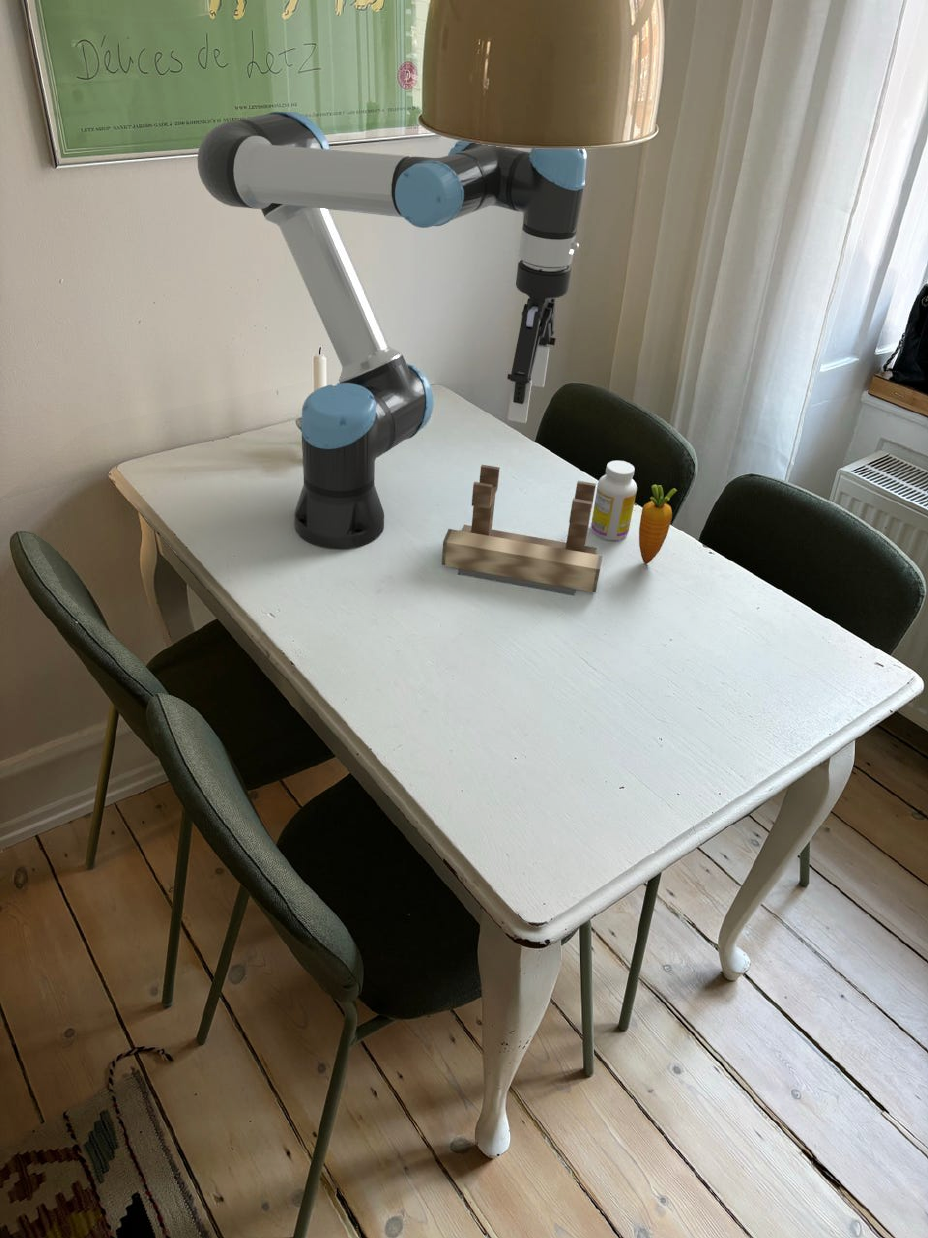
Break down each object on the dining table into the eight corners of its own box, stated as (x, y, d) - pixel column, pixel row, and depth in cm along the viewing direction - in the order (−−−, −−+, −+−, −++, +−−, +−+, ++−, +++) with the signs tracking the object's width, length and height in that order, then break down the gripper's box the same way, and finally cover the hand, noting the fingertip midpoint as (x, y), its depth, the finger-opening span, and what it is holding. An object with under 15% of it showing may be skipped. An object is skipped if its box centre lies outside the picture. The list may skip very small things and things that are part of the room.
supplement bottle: (627, 524, 173) (640, 459, 165) (628, 544, 168) (642, 478, 160) (589, 519, 173) (601, 455, 165) (589, 539, 168) (601, 474, 160)
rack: (456, 547, 163) (461, 481, 155) (464, 526, 168) (470, 462, 161) (592, 571, 160) (604, 506, 153) (596, 550, 165) (608, 485, 158)
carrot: (664, 560, 164) (682, 482, 155) (655, 575, 161) (674, 496, 152) (636, 552, 166) (652, 474, 157) (627, 566, 162) (643, 487, 153)
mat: (457, 574, 157) (458, 571, 156) (465, 554, 162) (465, 551, 161) (574, 595, 154) (574, 592, 154) (578, 575, 159) (579, 571, 159)
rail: (441, 564, 158) (443, 541, 155) (446, 551, 161) (448, 528, 158) (595, 592, 154) (600, 569, 152) (598, 578, 158) (602, 555, 155)
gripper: (554, 295, 126) (534, 442, 139) (585, 242, 146) (564, 375, 159) (498, 285, 128) (483, 431, 141) (536, 234, 147) (520, 367, 160)
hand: (526, 402), depth 150 cm, fingers open, 13 cm apart
